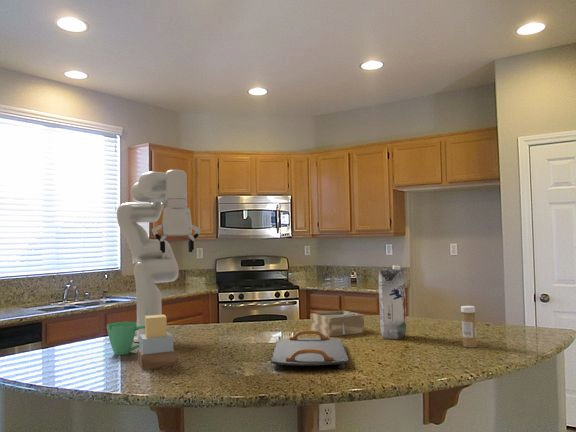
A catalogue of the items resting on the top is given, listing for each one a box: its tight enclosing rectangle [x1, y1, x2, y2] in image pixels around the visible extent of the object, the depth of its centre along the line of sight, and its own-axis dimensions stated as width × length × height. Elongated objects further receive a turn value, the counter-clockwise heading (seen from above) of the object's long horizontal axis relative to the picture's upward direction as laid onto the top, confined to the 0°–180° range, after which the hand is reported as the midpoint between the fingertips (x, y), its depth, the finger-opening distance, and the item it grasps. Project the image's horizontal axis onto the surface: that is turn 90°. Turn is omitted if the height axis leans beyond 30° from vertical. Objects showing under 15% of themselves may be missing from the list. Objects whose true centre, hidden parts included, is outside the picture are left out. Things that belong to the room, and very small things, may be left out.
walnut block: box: [137, 348, 176, 370], centre depth 150 cm, size 10×10×4 cm
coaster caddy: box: [309, 310, 365, 338], centre depth 197 cm, size 16×16×7 cm
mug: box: [106, 321, 145, 356], centre depth 167 cm, size 15×10×10 cm
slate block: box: [138, 331, 174, 355], centre depth 150 cm, size 9×9×4 cm
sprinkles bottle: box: [460, 305, 478, 348], centre depth 163 cm, size 5×5×14 cm
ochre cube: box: [145, 314, 168, 338], centre depth 151 cm, size 6×6×6 cm
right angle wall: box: [316, 312, 355, 334], centre depth 197 cm, size 12×12×8 cm
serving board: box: [269, 329, 350, 371], centre depth 154 cm, size 39×23×6 cm, turn 178°
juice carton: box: [378, 265, 407, 340], centre depth 183 cm, size 9×10×27 cm
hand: (177, 252), depth 171 cm, fingers open, 9 cm apart
